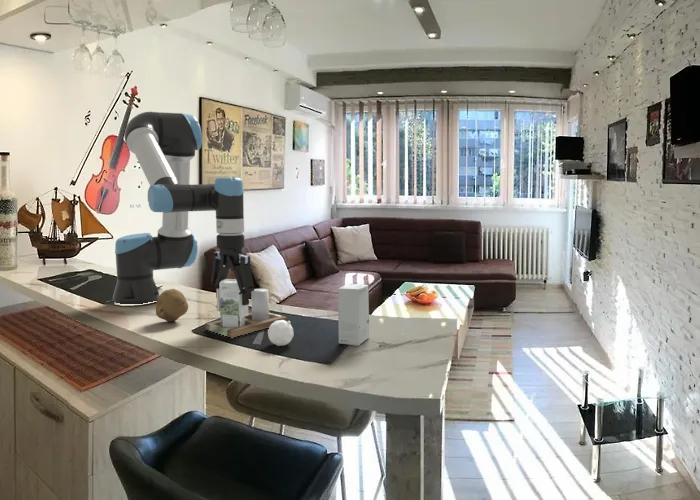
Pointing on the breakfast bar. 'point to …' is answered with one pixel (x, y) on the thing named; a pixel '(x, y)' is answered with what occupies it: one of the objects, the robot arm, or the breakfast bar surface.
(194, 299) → the breakfast bar surface
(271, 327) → the ornament
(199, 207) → the robot arm
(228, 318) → the syrup box
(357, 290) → the skincare box
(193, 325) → the breakfast bar surface
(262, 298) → the grey canister
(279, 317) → the socket board
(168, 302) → the brown potato
